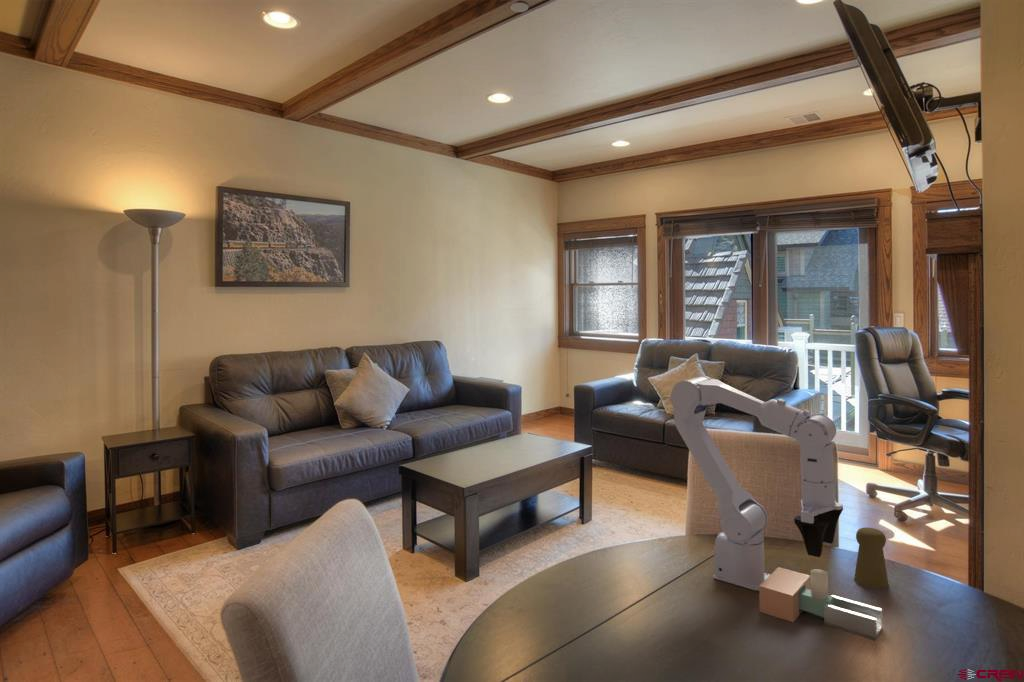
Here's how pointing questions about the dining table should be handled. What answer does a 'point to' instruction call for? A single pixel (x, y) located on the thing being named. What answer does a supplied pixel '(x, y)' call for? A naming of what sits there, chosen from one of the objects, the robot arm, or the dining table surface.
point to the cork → (871, 559)
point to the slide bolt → (816, 594)
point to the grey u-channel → (854, 617)
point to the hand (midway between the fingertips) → (820, 548)
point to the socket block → (783, 593)
